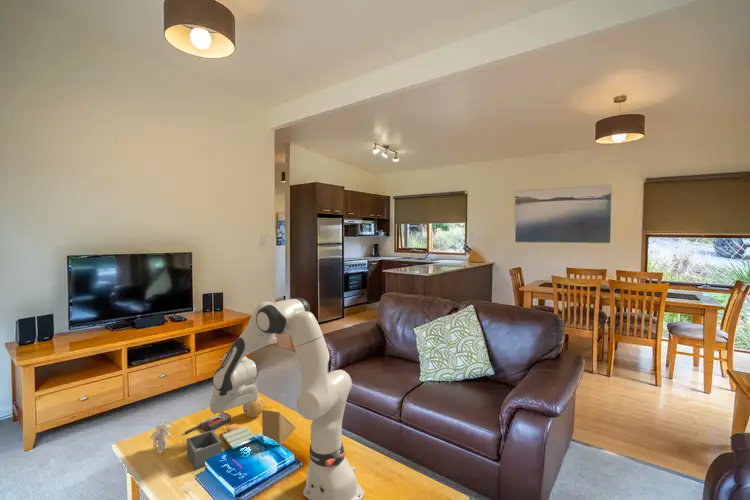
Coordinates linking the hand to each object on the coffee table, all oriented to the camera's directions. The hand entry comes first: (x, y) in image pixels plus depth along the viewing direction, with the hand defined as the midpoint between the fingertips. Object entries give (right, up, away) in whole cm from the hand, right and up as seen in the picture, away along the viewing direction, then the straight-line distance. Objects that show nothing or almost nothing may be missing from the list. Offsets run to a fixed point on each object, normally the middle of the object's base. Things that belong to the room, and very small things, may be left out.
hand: (235, 416), depth 157 cm
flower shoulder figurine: (-27, -9, -11) cm, 30 cm away
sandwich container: (+20, -9, 0) cm, 22 cm away
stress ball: (+3, -8, +16) cm, 19 cm away
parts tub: (-6, -9, -16) cm, 19 cm away
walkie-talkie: (-15, -9, +7) cm, 19 cm away
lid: (+2, -9, -2) cm, 9 cm away
